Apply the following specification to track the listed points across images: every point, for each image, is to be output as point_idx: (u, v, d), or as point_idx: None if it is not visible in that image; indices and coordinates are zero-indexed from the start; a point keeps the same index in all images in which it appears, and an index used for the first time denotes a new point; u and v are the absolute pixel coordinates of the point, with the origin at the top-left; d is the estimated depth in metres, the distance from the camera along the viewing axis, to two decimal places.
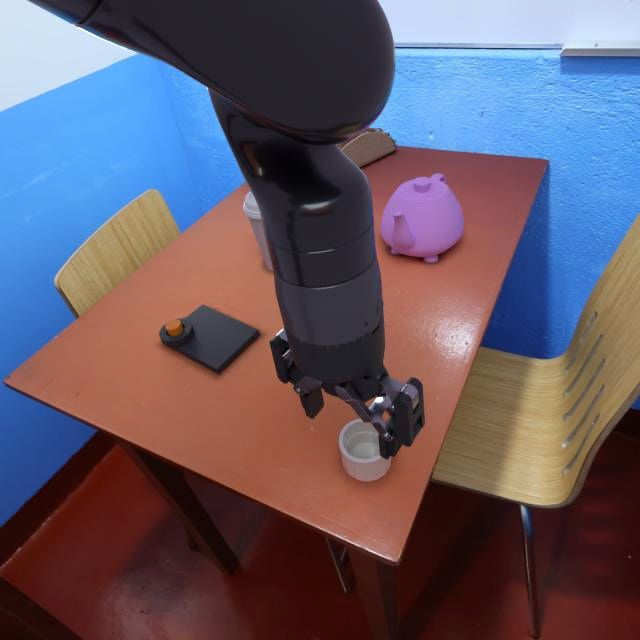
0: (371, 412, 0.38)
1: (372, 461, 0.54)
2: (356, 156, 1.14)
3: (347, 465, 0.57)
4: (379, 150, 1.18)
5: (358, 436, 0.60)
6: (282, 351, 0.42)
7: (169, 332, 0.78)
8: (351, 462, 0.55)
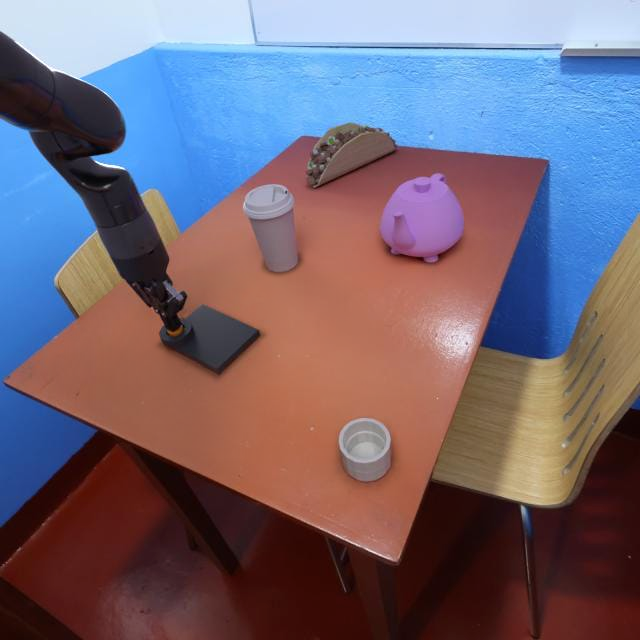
0: (159, 303, 0.73)
1: (372, 461, 0.54)
2: (355, 155, 1.14)
3: (347, 465, 0.57)
4: (379, 150, 1.18)
5: (358, 436, 0.60)
6: (132, 282, 0.75)
7: None
8: (351, 462, 0.55)
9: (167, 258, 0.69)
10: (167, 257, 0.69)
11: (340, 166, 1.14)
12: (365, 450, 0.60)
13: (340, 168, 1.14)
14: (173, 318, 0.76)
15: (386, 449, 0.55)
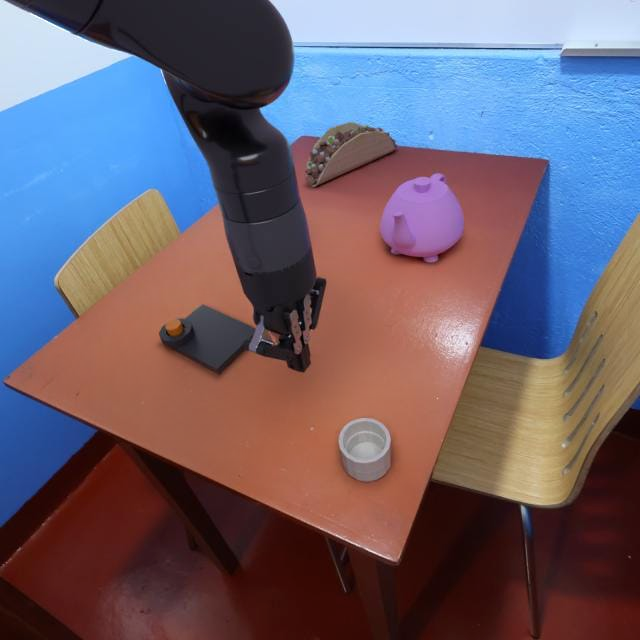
0: None
1: (372, 461, 0.54)
2: (354, 155, 1.15)
3: (347, 465, 0.57)
4: (378, 150, 1.18)
5: (358, 436, 0.60)
6: None
7: (169, 332, 0.78)
8: (351, 462, 0.55)
9: (280, 299, 0.44)
10: (282, 298, 0.44)
11: (339, 166, 1.14)
12: (365, 450, 0.60)
13: (339, 168, 1.14)
14: None
15: (386, 449, 0.55)
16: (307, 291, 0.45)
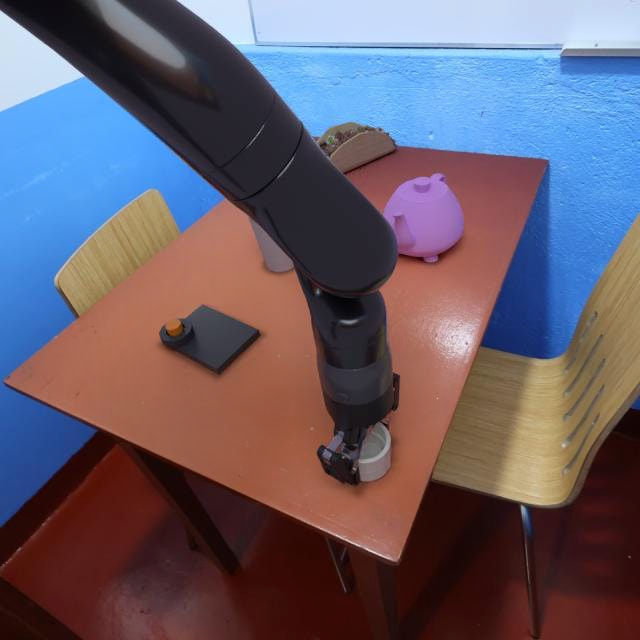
0: None
1: (372, 461, 0.54)
2: (353, 155, 1.15)
3: None
4: (378, 149, 1.19)
5: None
6: None
7: (169, 332, 0.78)
8: None
9: (362, 423, 0.48)
10: (363, 422, 0.48)
11: (338, 165, 1.14)
12: (365, 450, 0.60)
13: (338, 167, 1.15)
14: None
15: (386, 449, 0.55)
16: (386, 415, 0.49)
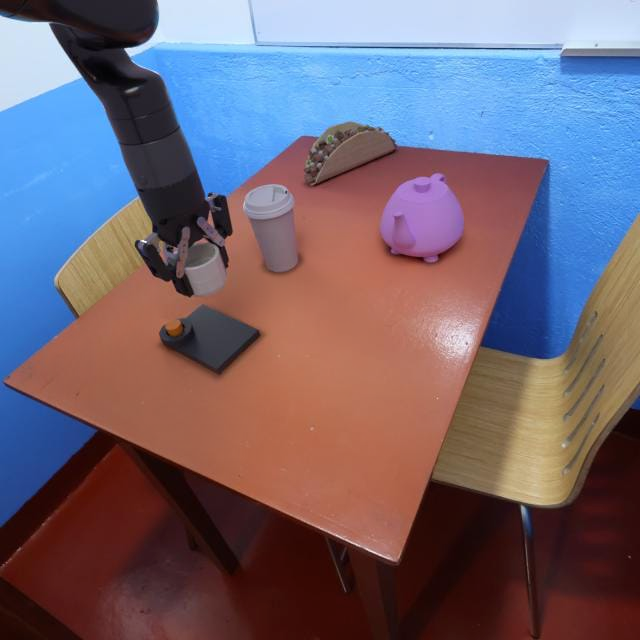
0: (165, 248, 0.61)
1: (197, 268, 0.62)
2: (353, 154, 1.15)
3: None
4: (378, 149, 1.19)
5: (199, 262, 0.67)
6: None
7: (169, 332, 0.78)
8: None
9: (167, 212, 0.55)
10: (168, 212, 0.55)
11: (338, 165, 1.14)
12: None
13: (337, 167, 1.15)
14: (175, 282, 0.63)
15: (212, 260, 0.62)
16: (191, 209, 0.56)
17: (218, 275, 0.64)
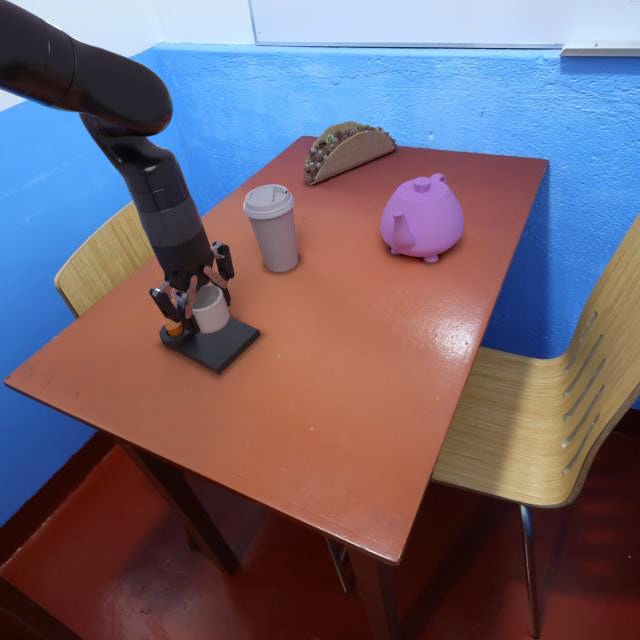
0: (175, 293, 0.69)
1: (203, 310, 0.70)
2: (352, 154, 1.15)
3: None
4: (377, 149, 1.19)
5: (205, 301, 0.76)
6: None
7: (169, 332, 0.78)
8: None
9: (178, 266, 0.63)
10: (179, 265, 0.63)
11: (337, 164, 1.15)
12: None
13: (337, 166, 1.15)
14: (184, 321, 0.71)
15: (216, 302, 0.71)
16: (199, 262, 0.64)
17: (222, 314, 0.72)
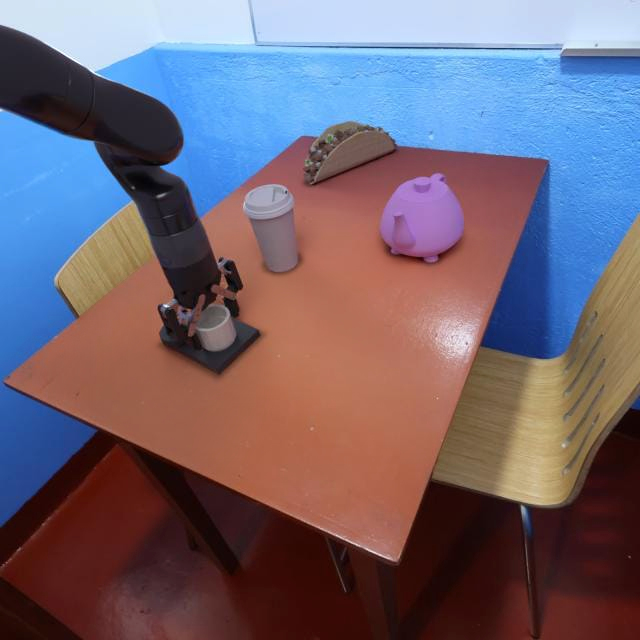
0: (181, 310, 0.71)
1: (211, 330, 0.73)
2: (352, 154, 1.15)
3: None
4: (377, 149, 1.19)
5: (212, 320, 0.78)
6: None
7: None
8: (198, 332, 0.74)
9: (187, 286, 0.66)
10: (188, 285, 0.66)
11: (337, 164, 1.15)
12: None
13: (336, 166, 1.15)
14: (187, 339, 0.72)
15: (224, 322, 0.73)
16: (207, 282, 0.67)
17: (229, 334, 0.75)
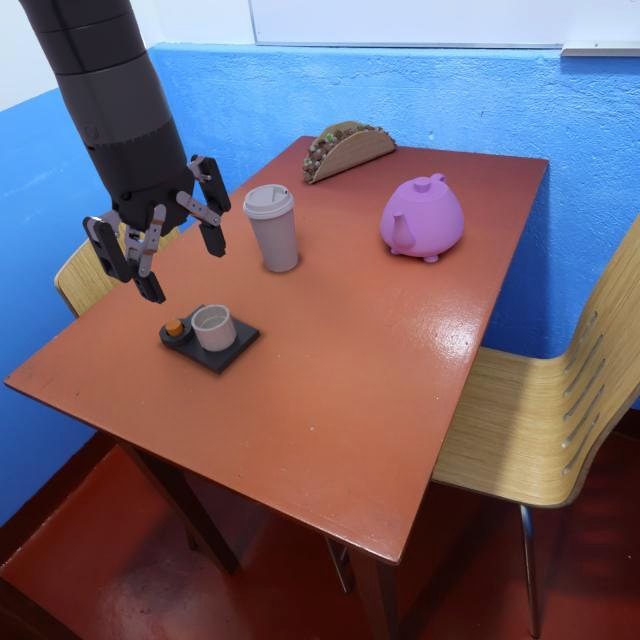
0: (127, 234, 0.43)
1: (211, 330, 0.73)
2: (351, 153, 1.15)
3: (197, 337, 0.75)
4: (377, 149, 1.19)
5: (212, 320, 0.78)
6: None
7: (169, 332, 0.78)
8: (198, 332, 0.74)
9: (131, 182, 0.38)
10: (133, 181, 0.38)
11: (336, 163, 1.15)
12: None
13: (335, 165, 1.15)
14: (139, 283, 0.45)
15: (224, 322, 0.73)
16: (167, 177, 0.39)
17: (229, 334, 0.75)
